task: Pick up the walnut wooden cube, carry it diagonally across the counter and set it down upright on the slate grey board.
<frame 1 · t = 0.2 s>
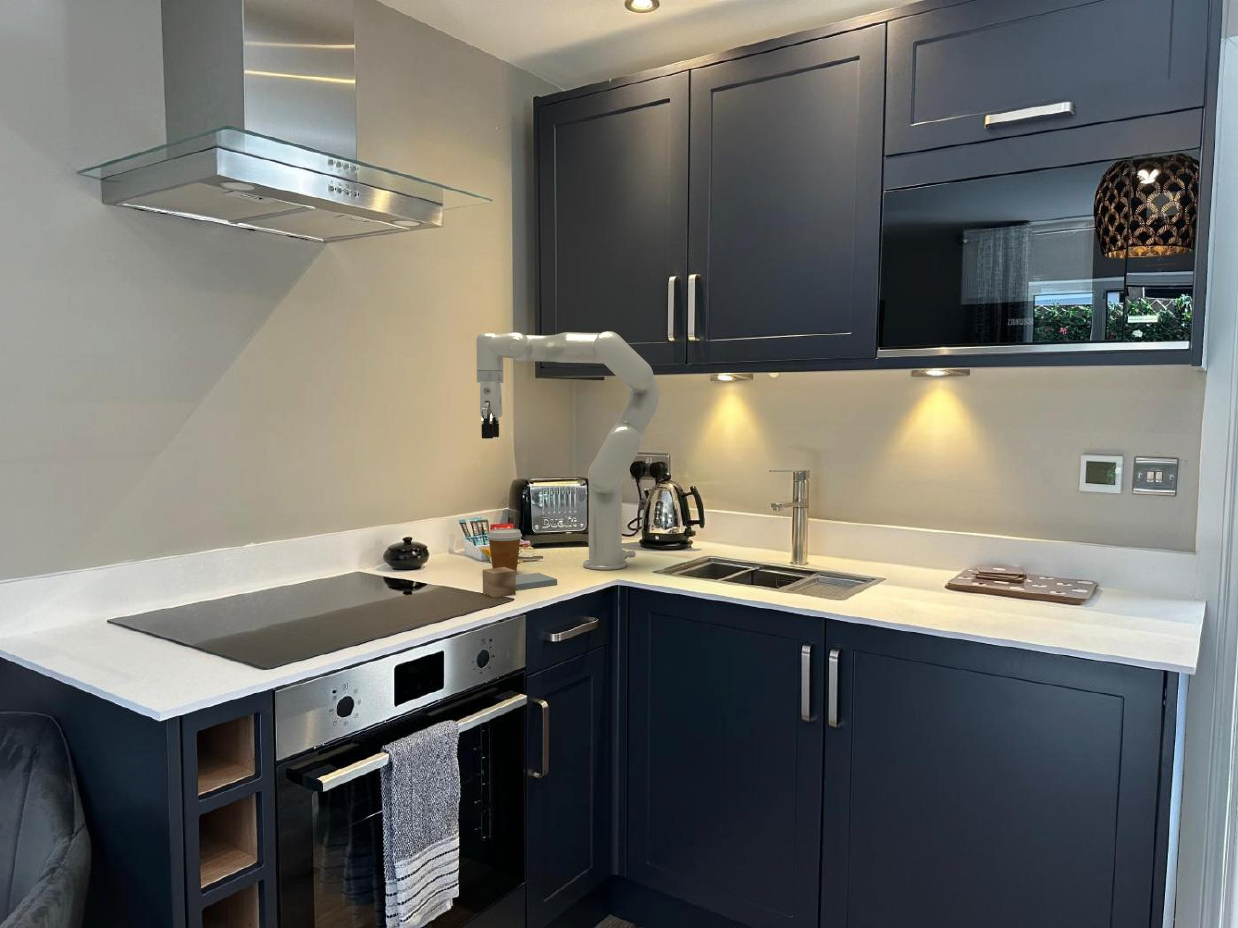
hand: (490, 437, 238), 37 cm above the worktop, tool pointing down, fingers open, 9 cm apart
slate board: (527, 584, 217), on the worktop
walnut cube: (499, 594, 205), on the worktop
disposable coffee cup: (504, 574, 229), on the worktop
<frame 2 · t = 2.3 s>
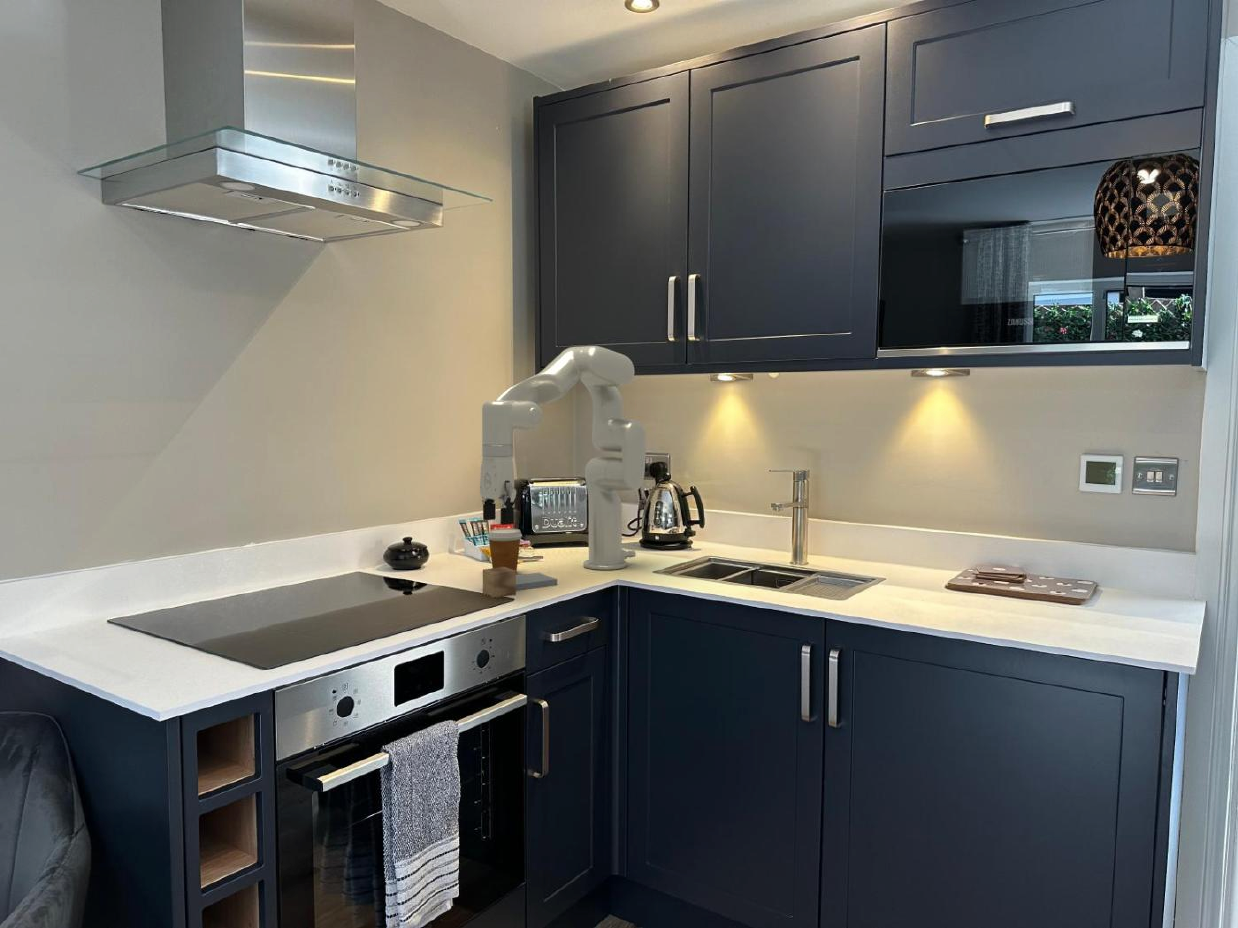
hand: (498, 522, 204), 18 cm above the worktop, tool pointing down, fingers open, 9 cm apart
nothing on the worktop moved.
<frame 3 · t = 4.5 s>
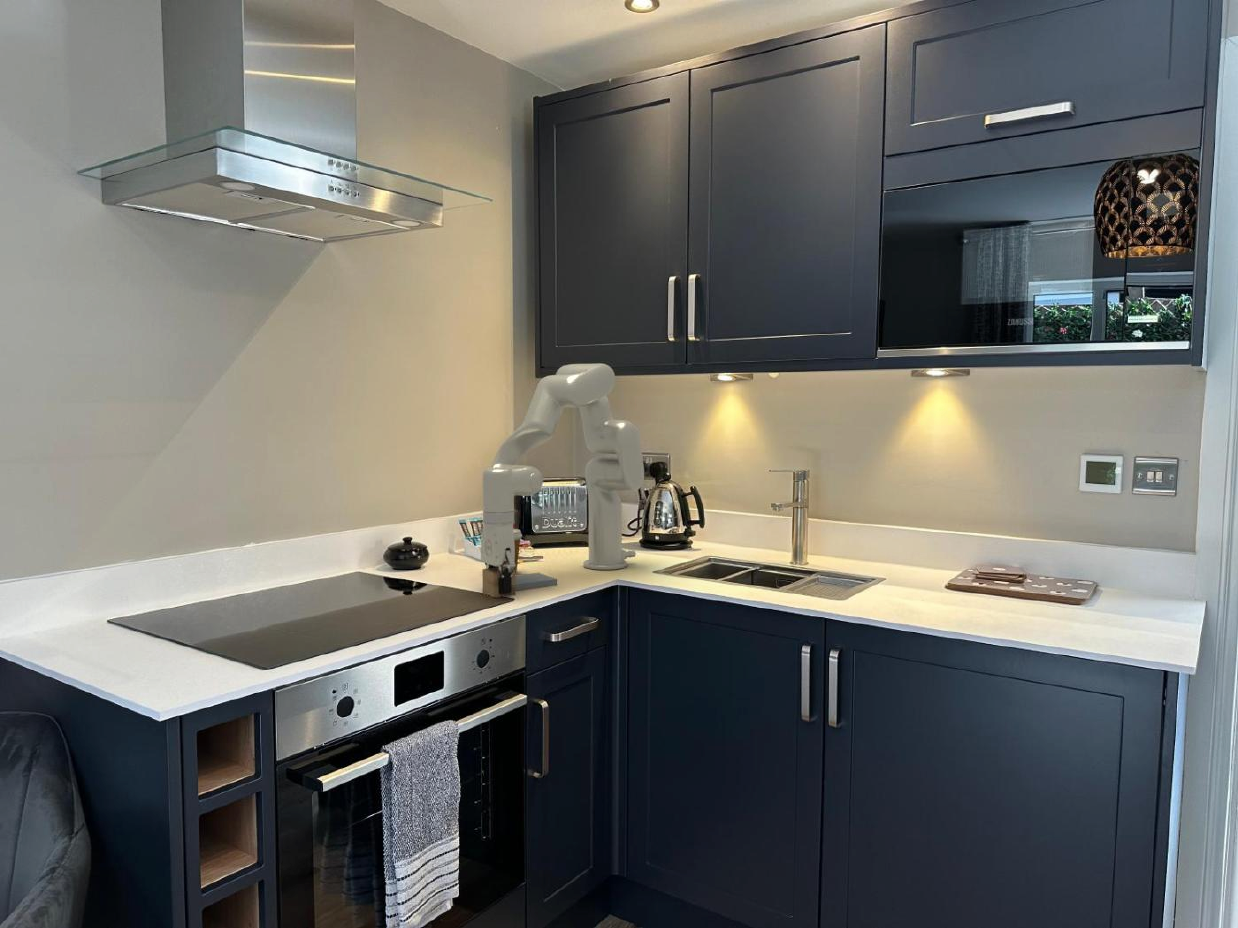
hand: (499, 590, 205), 1 cm above the worktop, tool pointing down, fingers closed on walnut cube, 6 cm apart
walnut cube: (499, 593, 205), on the worktop, touching gripper
everything else where it was.
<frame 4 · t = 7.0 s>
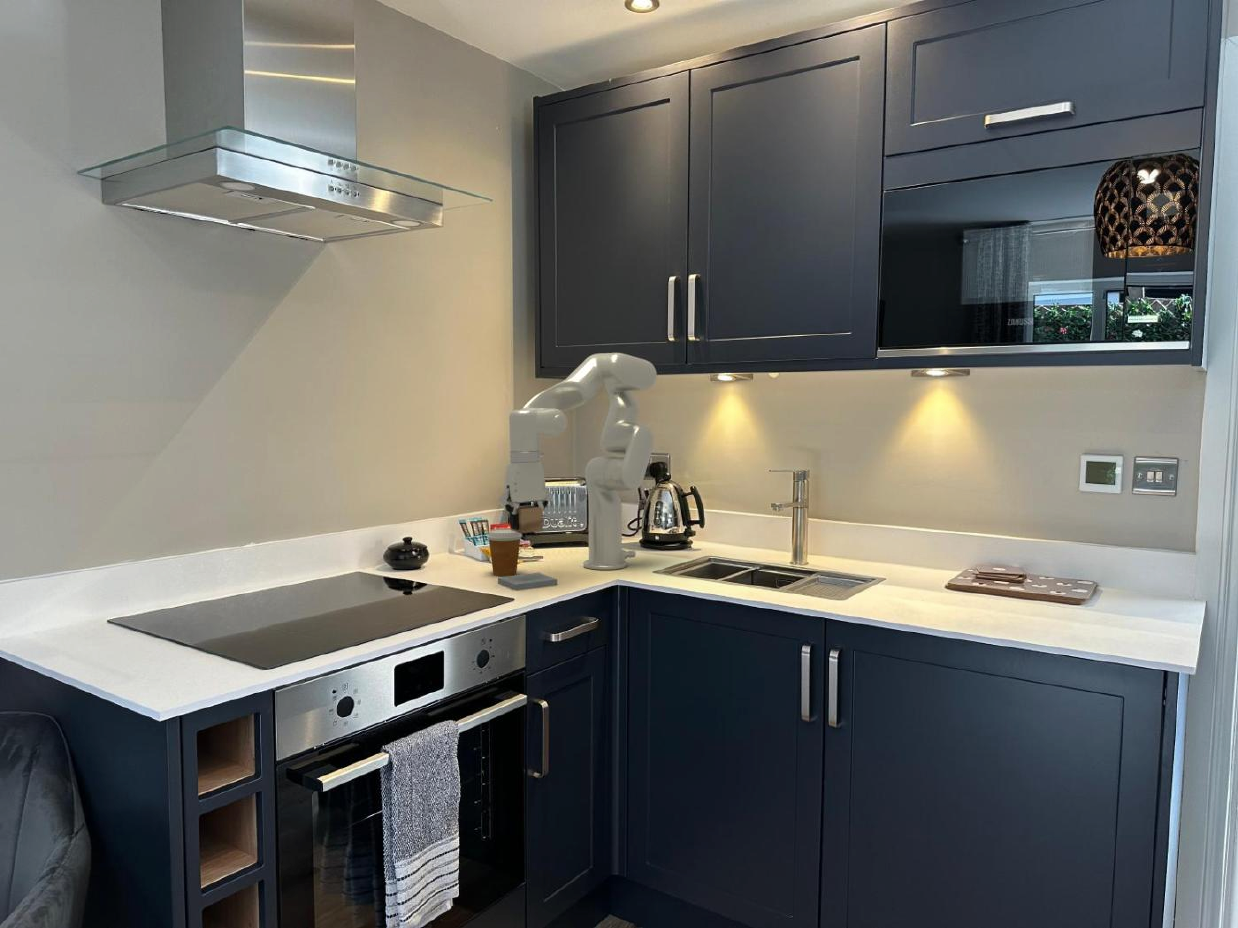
hand: (526, 527, 215), 15 cm above the worktop, tool pointing down, fingers closed on walnut cube, 6 cm apart
walnut cube: (526, 530, 215), point 14 cm above the worktop, touching gripper
everything else where it was.
when the fingers open (3 cm above the worktop, at t = 9.9 s): walnut cube stays where it is, resting on slate board.
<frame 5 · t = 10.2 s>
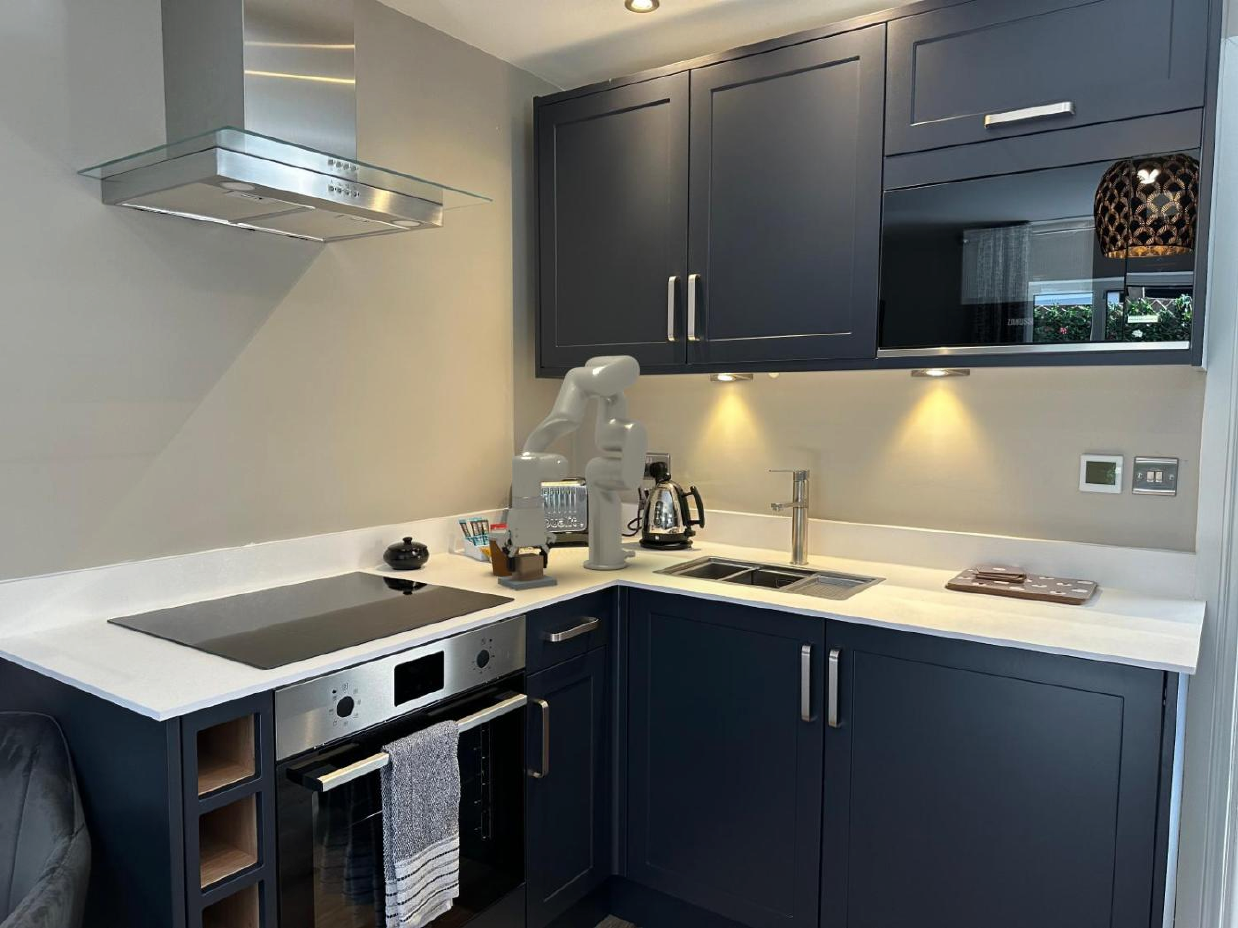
hand: (527, 569, 216), 4 cm above the worktop, tool pointing down, fingers open, 8 cm apart
walnut cube: (527, 578, 216), point 1 cm above the worktop, touching slate board
everything else where it was.
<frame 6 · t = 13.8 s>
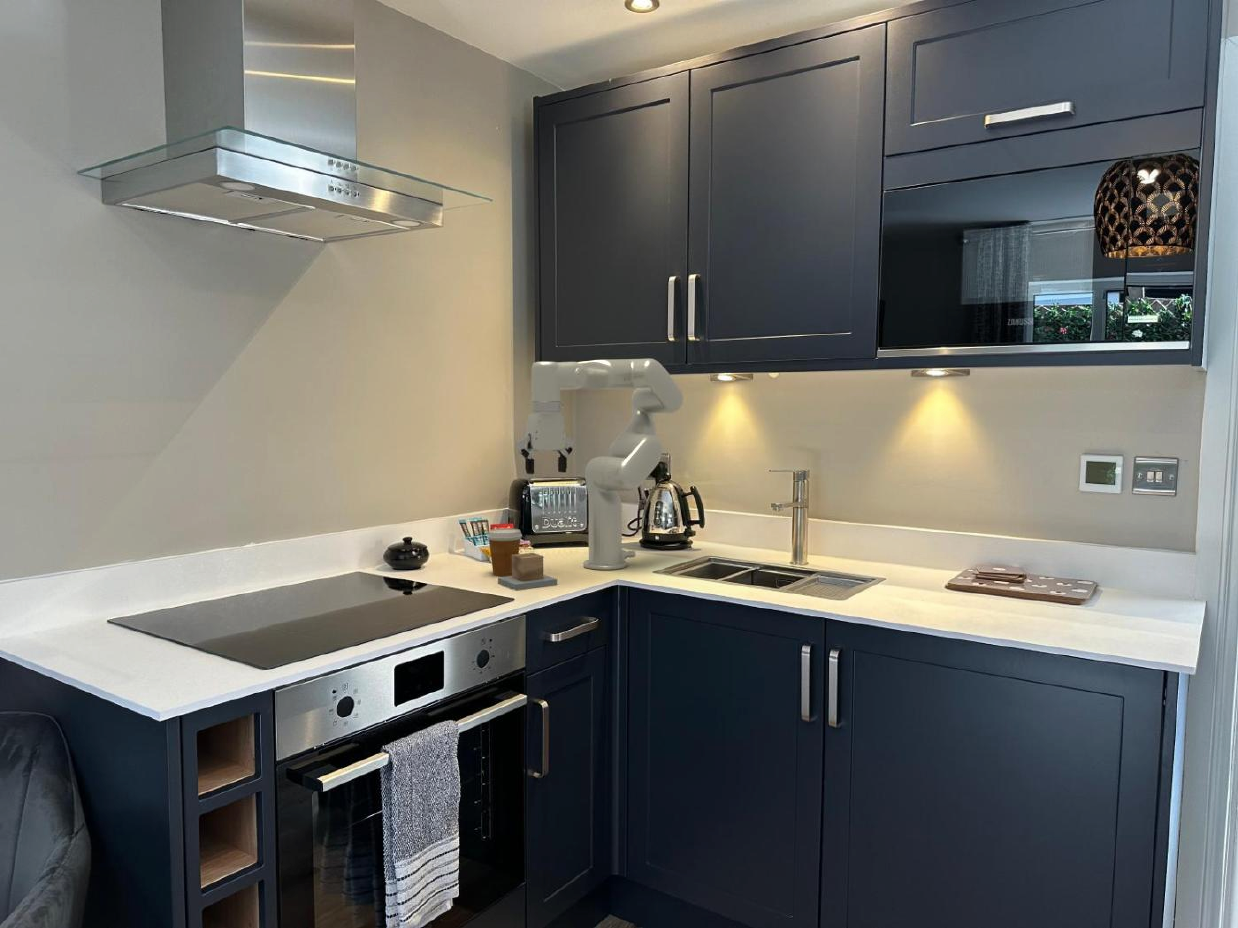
hand: (546, 472, 222), 28 cm above the worktop, tool pointing down, fingers open, 9 cm apart
nothing on the worktop moved.
at the end: walnut cube inside the target area on the slate board (0.1 cm from its centre), point 1.5 cm above the slate board's base; walnut cube tilted 0°; the gripper is holding nothing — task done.
